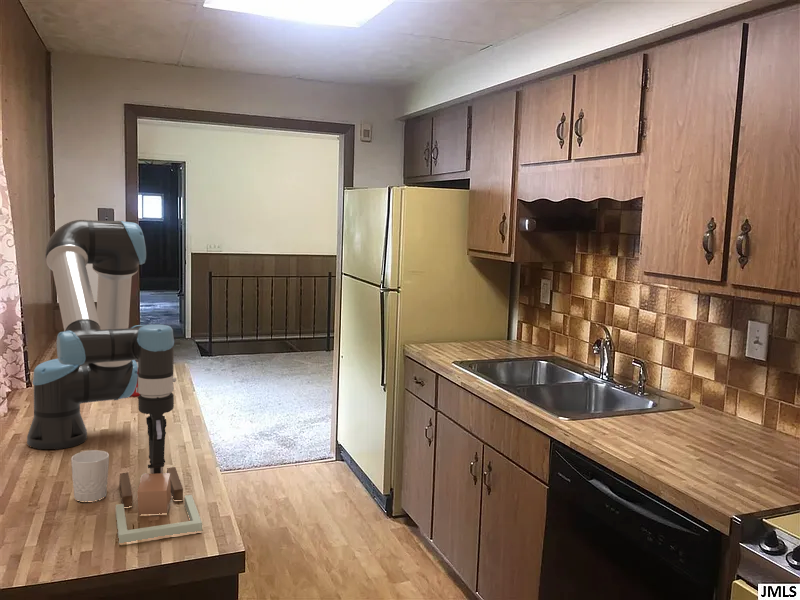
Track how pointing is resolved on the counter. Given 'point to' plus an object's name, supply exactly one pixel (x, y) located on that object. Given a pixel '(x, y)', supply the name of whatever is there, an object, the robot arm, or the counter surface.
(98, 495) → the white cup
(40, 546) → the counter surface
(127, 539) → the bay
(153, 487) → the block
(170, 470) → the chute
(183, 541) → the counter surface
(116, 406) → the counter surface
